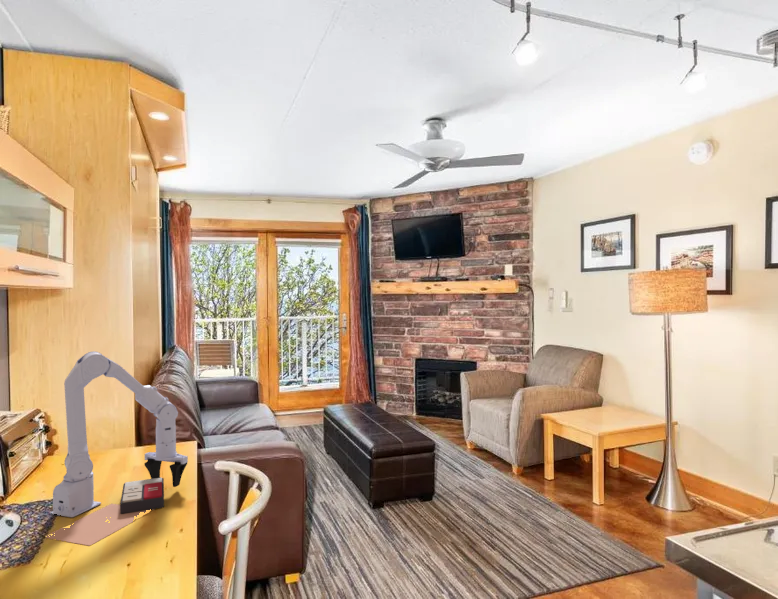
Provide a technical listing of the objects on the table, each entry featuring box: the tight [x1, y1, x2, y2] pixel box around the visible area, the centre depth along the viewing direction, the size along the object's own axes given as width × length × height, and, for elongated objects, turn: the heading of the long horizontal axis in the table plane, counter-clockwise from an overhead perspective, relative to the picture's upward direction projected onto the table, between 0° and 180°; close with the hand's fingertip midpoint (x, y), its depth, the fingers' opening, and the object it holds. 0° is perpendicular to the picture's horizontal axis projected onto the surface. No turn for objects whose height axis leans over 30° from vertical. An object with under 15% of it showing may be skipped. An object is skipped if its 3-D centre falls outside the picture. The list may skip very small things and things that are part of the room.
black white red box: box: [119, 477, 165, 514], centre depth 146 cm, size 11×4×15 cm
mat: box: [45, 503, 146, 547], centre depth 133 cm, size 21×15×1 cm
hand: (166, 484), depth 155 cm, fingers open, 7 cm apart
